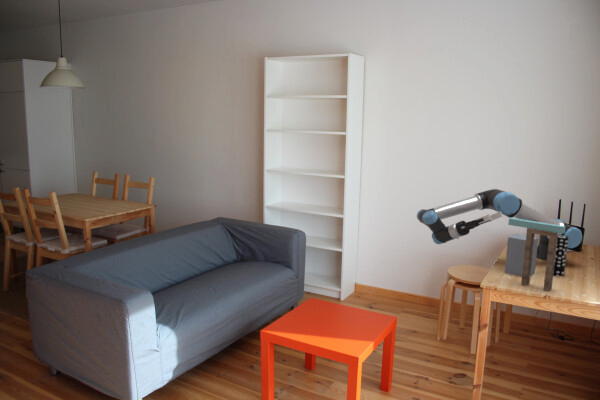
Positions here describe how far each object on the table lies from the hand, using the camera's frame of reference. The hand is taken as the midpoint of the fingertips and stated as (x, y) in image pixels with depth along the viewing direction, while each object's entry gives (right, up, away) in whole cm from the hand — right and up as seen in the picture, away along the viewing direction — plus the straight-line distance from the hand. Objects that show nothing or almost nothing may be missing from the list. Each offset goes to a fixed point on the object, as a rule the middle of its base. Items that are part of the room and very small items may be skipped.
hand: (496, 215), depth 233 cm
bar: (+13, -6, -13) cm, 19 cm away
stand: (+15, -34, -10) cm, 38 cm away
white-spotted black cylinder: (+36, -31, +11) cm, 48 cm away
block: (+17, -30, +11) cm, 37 cm away
